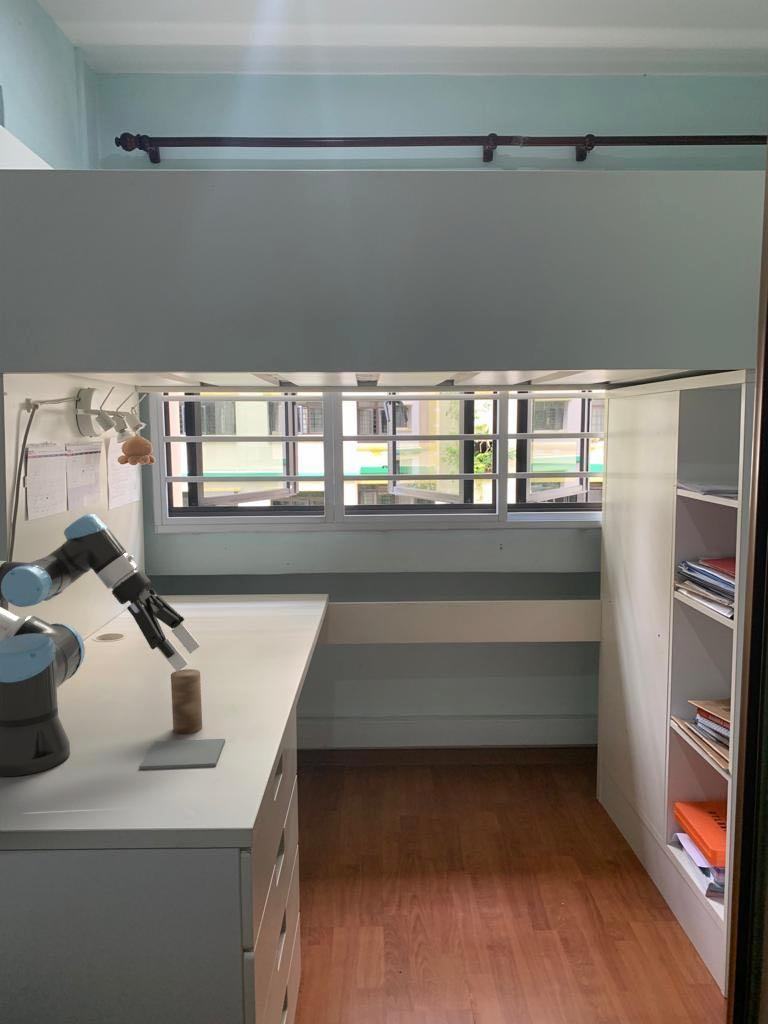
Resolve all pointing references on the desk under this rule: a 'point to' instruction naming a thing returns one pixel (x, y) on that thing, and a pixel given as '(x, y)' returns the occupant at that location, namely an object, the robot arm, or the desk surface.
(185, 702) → the walnut canister
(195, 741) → the slate mat
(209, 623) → the desk surface
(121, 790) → the desk surface
